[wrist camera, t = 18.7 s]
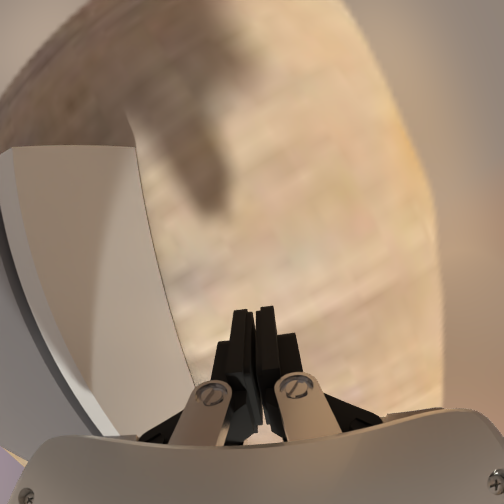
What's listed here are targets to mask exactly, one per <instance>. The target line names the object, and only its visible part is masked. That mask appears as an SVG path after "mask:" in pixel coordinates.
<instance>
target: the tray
mask: <svg viewBox="0 0 504 504" xmlns="http://www.w3.org/2000/svg"><path fill="white" fill-rule="evenodd" d="M0 206H1V212H2V217H3V221H4V226H5V230H6V234H7V239H8V242H9V246H10V250H11V253H12V257H13V260H14V264H15V267H16V270H17V273H18V276H19V279H20V282H21V285H22V288H23V291H24V293H25V296H26V299H27V301H28V304H29V306H30V309H31V311H32V314H33V316H34V318H35V321H36V323H37V325H38V327H39V330H40V332H41V334H42V336H43V338H44V340H45V342H46V344H47V346H48V348H49V350H50V352H51V354H52V356H53V358H54V360H55V362H56V364H57V366H58V367H59V369H60V371H61V373H62V375H63V376H64V378H65V380H66V381H67V383H68V385H69V386H70V388H71V390H72V391H73V393H74V394H75V396H76V398H77V399H78V401H79V402H80V404H81V405H82V407H83V408H84V410H85V411H86V413H87V414H88V416H89V417H90V418H91V420H92V421H93V423H94V424H95V425H96V427H97V428H98V429H99V431H100V432H101V433H102V435H103V436H120V435H135V434H136V435H137V436H138V437H141V436H142V434H144V433H145V432H147V431H148V430H150V429H152V428H153V427H155V426H157V425H159V424H160V423H162V422H164V421H165V420H167V419H169V418H170V417H172V416H174V415H175V414H177V413H179V412H180V411H182V410H183V409H184V408H185V406H186V403H187V401H188V399H189V397H190V395H191V393H192V391H193V390H194V388H195V386H194V383H193V380H192V378H191V375H190V372H189V369H188V366H187V363H186V360H185V357H184V354H183V351H182V348H181V345H180V342H179V339H178V336H177V333H176V329H175V326H174V323H173V319H172V316H171V313H170V309H169V306H168V302H167V299H166V295H165V291H164V288H163V284H162V280H161V276H160V272H159V268H158V264H157V260H156V256H155V252H154V247H153V243H152V238H151V234H150V229H149V225H148V220H147V215H146V210H145V205H144V199H143V194H142V188H141V182H140V177H139V170H138V164H137V157H136V150H135V147H126V146H102V145H44V146H22V147H11V148H10V149H8V150H6V151H5V152H3V153H2V154H0Z"/></svg>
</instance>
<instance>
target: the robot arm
mask: <svg viewBox="0 0 504 504" xmlns="http://www.w3.org/2000/svg"><path fill="white" fill-rule="evenodd" d="M262 405H263V408H262ZM263 409H264V414H265V419H266V423H267V425H268V424H270V426H271V431H272V432H274V433H275V434H277V435H278V436H280V437H282V441H283V442H281V443H271V444H258V445H248V440H247V438H248V437H250V436H251V435H252V434H253V433H258V425H263ZM8 504H504V437H503V436H502V434H501V433H500V432H499V430H498V429H497V428H496V427H495V426H494V424H493V423H492V422H491V421H490V420H489V419H488V418H487V417H486V416H484V415H483V414H482V413H480V412H478V411H475V410H472V409H464V408H455V409H444V408H430V409H423V410H416V411H409V412H401V413H392V414H387V416H386V417H379V416H377V415H376V414H374V413H371V412H369V411H366V410H364V409H361V408H359V407H356V406H354V405H351V404H349V403H346V402H344V401H341V400H339V399H337V398H334V397H332V396H330V395H327V394H325V393H323V391H322V389H321V387H320V385H319V383H318V381H317V380H316V378H315V377H314V376H312V375H311V374H308V373H305V372H303V369H302V364H301V359H300V354H299V349H298V344H297V339H296V334H295V333H289V334H282V335H277V329H276V322H275V314H274V307H273V306H266V307H261V311H256V329H255V324H254V318H253V313H252V312H248V311H247V309H242V310H234V313H233V320H232V327H231V334H230V341H219V342H218V345H217V350H216V355H215V360H214V365H213V370H212V376H211V380H210V381H206V382H203V383H201V384H199V385H198V386H197V387H195V388H194V390H193V391H192V393H191V395H190V397H189V399H188V401H187V403H186V406H185V408H184V409H183V410H182V411H180V412H179V413H177V414H175V415H174V416H172V417H170V418H169V419H167V420H165V421H164V422H162V423H160V424H159V425H157V426H155V427H153V428H152V429H150V430H148V431H147V432H145V433H144V434H142V436H141V437H138V436H137V435H136V434H135V435H120V436H91V435H64V436H57V437H53V438H50V439H48V440H46V441H45V442H44V443H42V444H41V445H40V446H39V447H38V449H37V450H36V451H35V453H34V454H33V456H32V457H31V458H30V460H29V462H28V463H27V465H26V467H25V469H24V471H23V472H22V474H21V476H20V478H19V480H18V482H17V484H16V486H15V488H14V490H13V493H12V495H11V497H10V499H9V502H8Z"/></svg>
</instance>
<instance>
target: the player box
mask: <svg viewBox="0 0 504 504" xmlns="http://www.w3.org/2000/svg"><path fill="white" fill-rule="evenodd" d="M64 435H91V436H103V435H102V433H101V432H100V431H99V429H98V428H97V427H96V425H95V424H94V423H93V421H92V420H91V418H90V417H89V416H88V414H87V413H86V411H85V410H84V408H83V407H82V405H81V404H80V402H79V401H78V399H77V398H76V396H75V394H74V393H73V391H72V390H71V388H70V386H69V385H68V383H67V381H66V380H65V378H64V376H63V375H62V373H61V371H60V369H59V367H58V366H57V364H56V362H55V360H54V358H53V356H52V354H51V352H50V350H49V348H48V346H47V344H46V342H45V340H44V338H43V336H42V334H41V332H40V330H39V327H38V325H37V323H36V321H35V318H34V316H33V314H32V311H31V309H30V306H29V304H28V301H27V299H26V296H25V293H24V291H23V288H22V285H21V282H20V279H19V276H18V273H17V270H16V267H15V264H14V260H13V257H12V253H11V250H10V246H9V242H8V239H7V234H6V230H5V226H4V221H3V217H2V212H1V206H0V446H1V447H3V448H5V449H6V450H8V451H10V452H12V453H14V454H15V455H17V456H19V457H21V458H23V459H25V460H27V461H29V460H30V458H31V457H32V456H33V454H34V453H35V451H36V450H37V449H38V447H39V446H40V445H41V444H42V443H44V442H45V441H46V440H48V439H50V438H53V437H57V436H64Z"/></svg>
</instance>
